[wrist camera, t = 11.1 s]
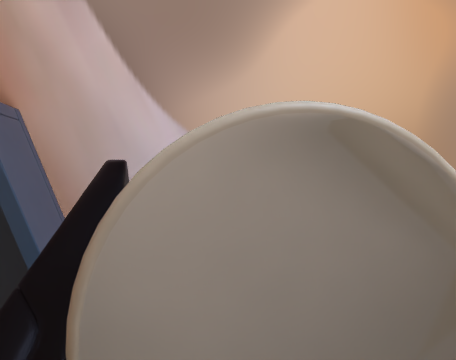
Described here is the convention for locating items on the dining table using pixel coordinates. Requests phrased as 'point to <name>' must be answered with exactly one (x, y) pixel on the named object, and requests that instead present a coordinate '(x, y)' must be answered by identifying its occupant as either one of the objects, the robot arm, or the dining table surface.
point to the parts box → (22, 202)
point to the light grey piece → (275, 245)
